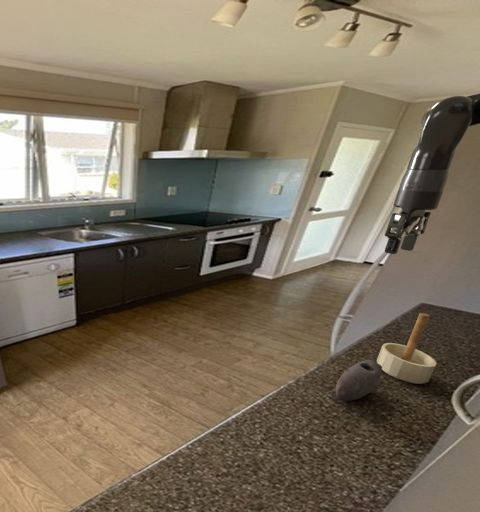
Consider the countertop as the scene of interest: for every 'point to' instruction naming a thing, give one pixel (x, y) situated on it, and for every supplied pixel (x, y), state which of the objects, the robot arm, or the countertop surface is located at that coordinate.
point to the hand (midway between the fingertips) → (398, 251)
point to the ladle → (415, 336)
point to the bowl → (406, 364)
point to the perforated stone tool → (359, 380)
